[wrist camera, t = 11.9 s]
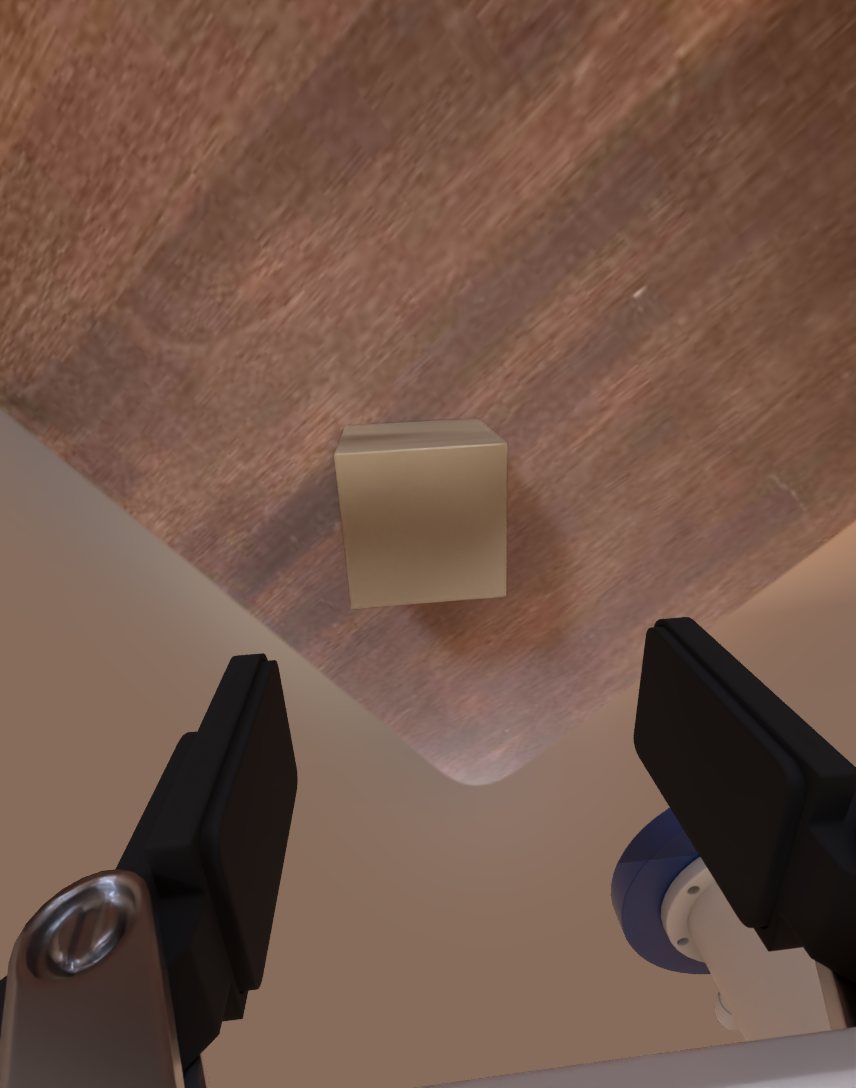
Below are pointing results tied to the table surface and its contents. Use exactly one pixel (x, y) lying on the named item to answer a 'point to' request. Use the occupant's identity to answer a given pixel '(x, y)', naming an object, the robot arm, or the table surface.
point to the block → (423, 511)
